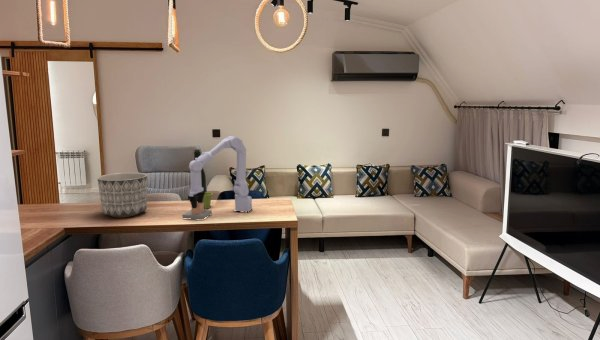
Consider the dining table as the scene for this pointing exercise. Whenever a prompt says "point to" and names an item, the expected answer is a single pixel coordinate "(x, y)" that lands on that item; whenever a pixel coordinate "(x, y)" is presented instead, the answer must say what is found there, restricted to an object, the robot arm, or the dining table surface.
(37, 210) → the dining table surface
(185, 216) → the slate plinth
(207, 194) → the plant pot
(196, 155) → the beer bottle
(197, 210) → the terracotta cube
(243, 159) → the robot arm
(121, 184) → the planter
